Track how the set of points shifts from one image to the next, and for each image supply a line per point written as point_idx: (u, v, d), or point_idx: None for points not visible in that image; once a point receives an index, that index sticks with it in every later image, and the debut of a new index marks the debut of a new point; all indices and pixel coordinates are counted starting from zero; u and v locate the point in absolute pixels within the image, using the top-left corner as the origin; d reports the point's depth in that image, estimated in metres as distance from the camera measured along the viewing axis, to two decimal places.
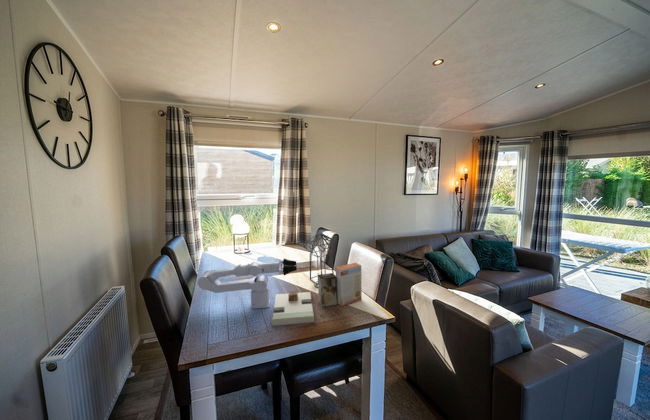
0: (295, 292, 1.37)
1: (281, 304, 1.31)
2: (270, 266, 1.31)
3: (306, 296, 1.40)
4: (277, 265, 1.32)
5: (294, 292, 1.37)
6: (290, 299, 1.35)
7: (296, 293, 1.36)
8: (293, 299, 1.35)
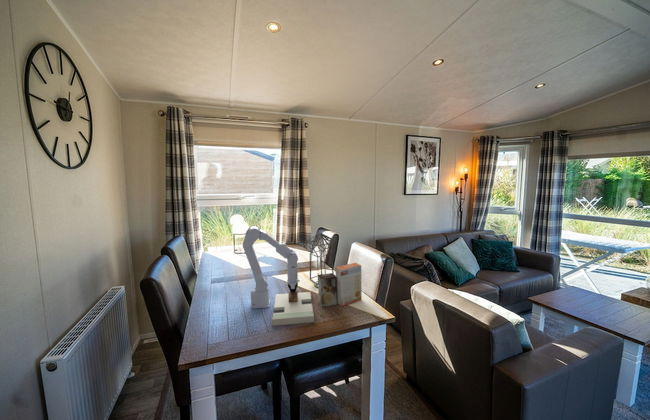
0: (295, 293, 1.36)
1: (281, 304, 1.31)
2: (295, 273, 1.36)
3: (306, 296, 1.40)
4: (295, 279, 1.37)
5: (294, 293, 1.36)
6: (290, 300, 1.33)
7: (296, 294, 1.35)
8: (293, 300, 1.34)
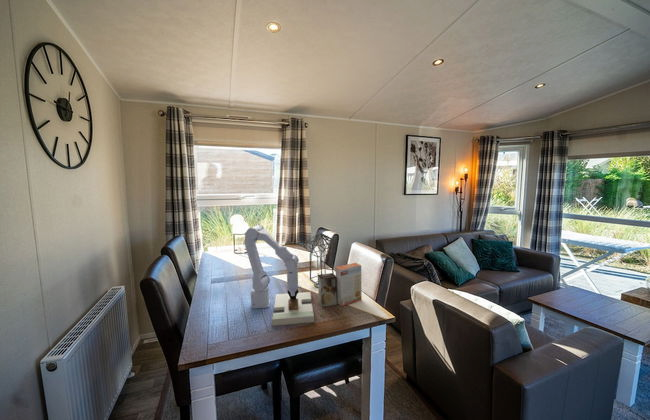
0: (295, 300, 1.28)
1: (281, 304, 1.31)
2: (293, 279, 1.28)
3: (306, 296, 1.40)
4: (296, 286, 1.29)
5: (294, 300, 1.28)
6: (290, 308, 1.25)
7: (297, 301, 1.27)
8: (293, 308, 1.26)
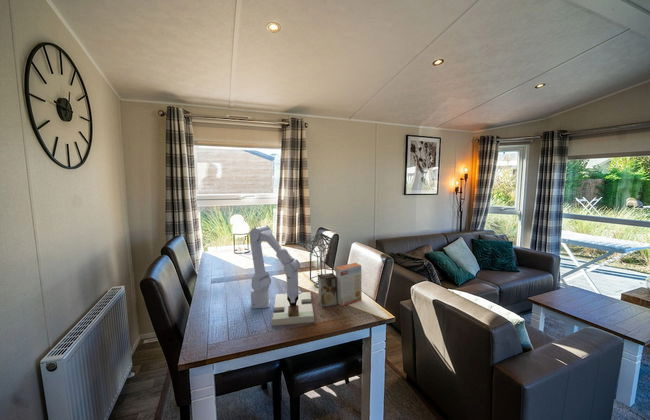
0: (296, 307, 1.21)
1: (281, 304, 1.31)
2: (292, 285, 1.21)
3: (306, 296, 1.40)
4: (296, 292, 1.22)
5: (295, 307, 1.21)
6: (290, 315, 1.18)
7: (297, 308, 1.20)
8: (293, 315, 1.19)
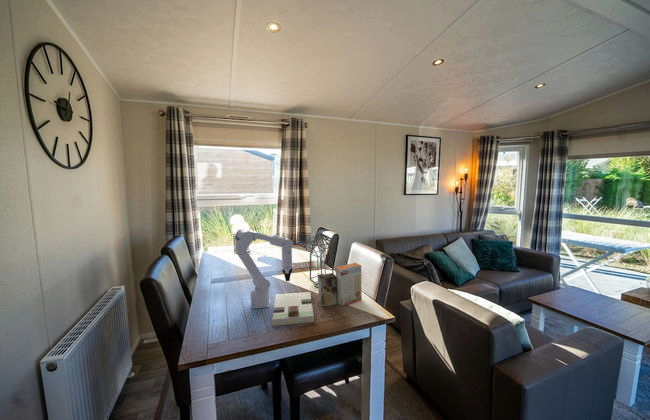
0: (296, 308, 1.21)
1: (281, 304, 1.31)
2: (291, 258, 1.41)
3: (306, 296, 1.40)
4: (290, 265, 1.41)
5: (294, 308, 1.21)
6: (290, 316, 1.18)
7: (297, 309, 1.20)
8: None
